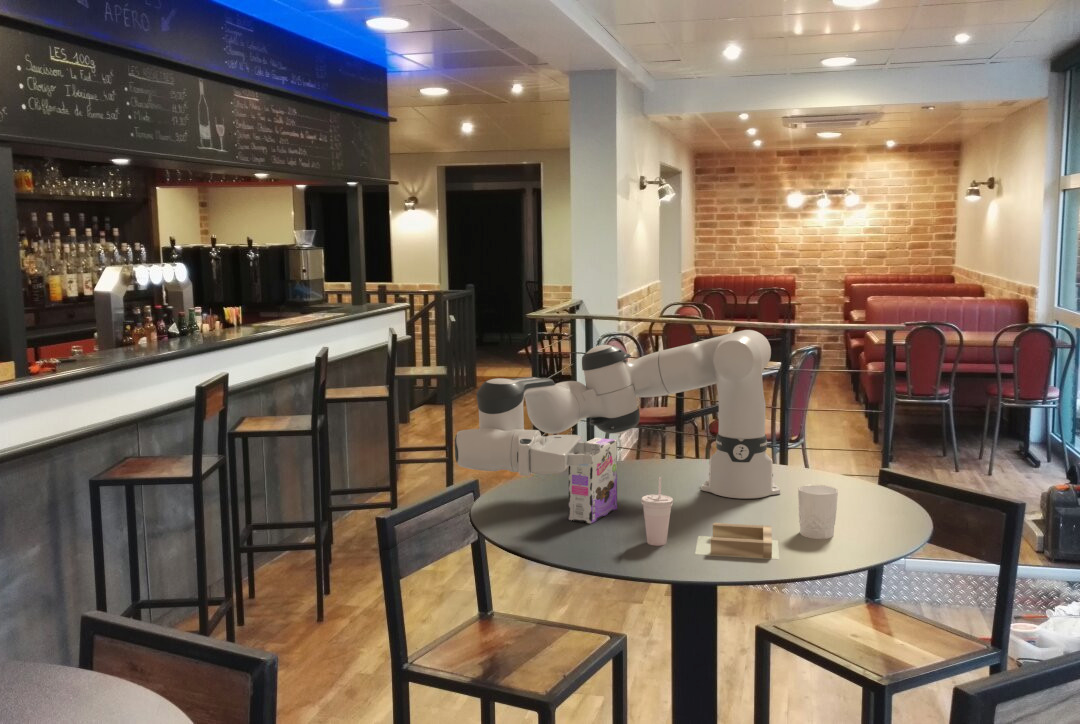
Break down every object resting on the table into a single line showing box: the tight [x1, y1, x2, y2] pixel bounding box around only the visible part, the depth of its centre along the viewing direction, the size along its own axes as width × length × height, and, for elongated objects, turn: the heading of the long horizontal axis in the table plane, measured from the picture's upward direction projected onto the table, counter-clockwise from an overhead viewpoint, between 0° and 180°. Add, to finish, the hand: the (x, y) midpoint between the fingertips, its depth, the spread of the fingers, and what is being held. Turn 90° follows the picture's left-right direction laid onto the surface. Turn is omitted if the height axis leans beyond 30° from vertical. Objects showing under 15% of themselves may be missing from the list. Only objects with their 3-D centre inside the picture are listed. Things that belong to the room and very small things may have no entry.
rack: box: [710, 522, 773, 559], centre depth 199 cm, size 12×12×3 cm
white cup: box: [797, 484, 839, 540], centre depth 207 cm, size 8×8×10 cm
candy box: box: [568, 437, 618, 524], centre depth 223 cm, size 14×6×16 cm, turn 151°
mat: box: [694, 535, 780, 560], centre depth 199 cm, size 12×16×1 cm
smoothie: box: [640, 477, 674, 547], centre depth 202 cm, size 6×6×14 cm
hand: (596, 453), depth 202 cm, fingers open, 8 cm apart
